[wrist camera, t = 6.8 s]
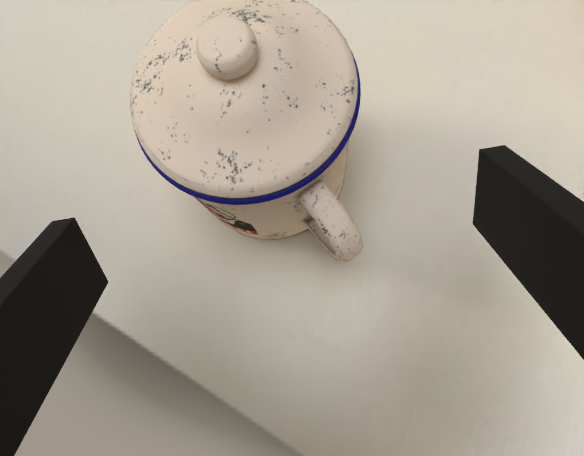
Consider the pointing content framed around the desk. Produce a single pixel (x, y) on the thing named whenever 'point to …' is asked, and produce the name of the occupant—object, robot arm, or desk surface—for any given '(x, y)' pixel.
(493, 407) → the desk surface
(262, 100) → the teacup with lid
